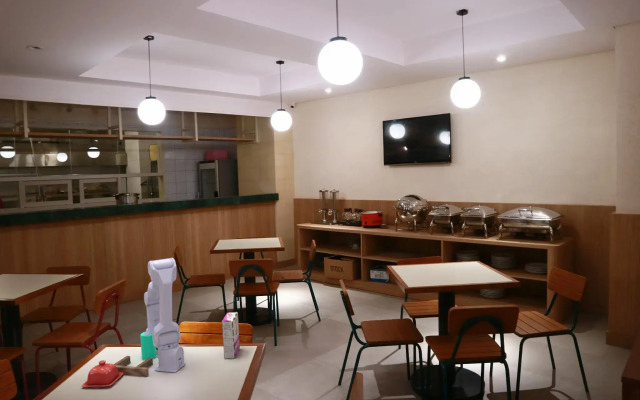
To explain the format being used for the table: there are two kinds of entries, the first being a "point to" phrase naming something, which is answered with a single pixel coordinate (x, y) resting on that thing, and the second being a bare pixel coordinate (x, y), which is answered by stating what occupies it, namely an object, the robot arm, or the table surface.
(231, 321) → the candy bar box
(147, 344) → the candle
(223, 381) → the table surface
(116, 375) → the butter dish
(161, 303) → the robot arm
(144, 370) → the brown wooden angled piece
